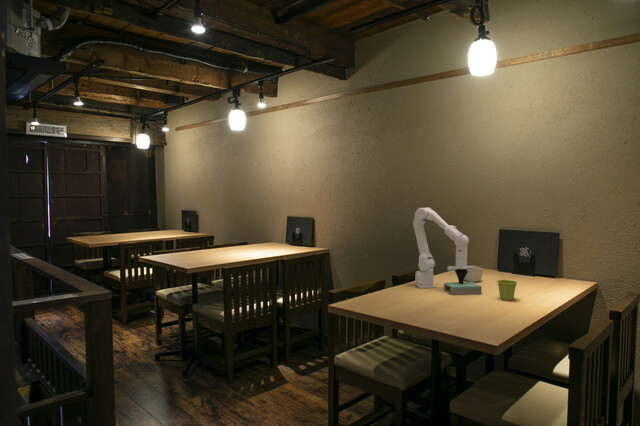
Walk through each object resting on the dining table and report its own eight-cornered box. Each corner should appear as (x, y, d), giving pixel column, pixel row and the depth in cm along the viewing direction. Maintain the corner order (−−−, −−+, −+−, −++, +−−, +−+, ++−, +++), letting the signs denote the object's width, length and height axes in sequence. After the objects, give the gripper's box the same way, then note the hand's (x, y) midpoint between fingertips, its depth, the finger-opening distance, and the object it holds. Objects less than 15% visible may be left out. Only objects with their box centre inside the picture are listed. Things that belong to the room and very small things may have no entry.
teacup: (484, 283, 246) (485, 269, 245) (465, 283, 246) (466, 269, 245) (476, 278, 260) (476, 265, 259) (458, 278, 260) (458, 265, 259)
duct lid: (451, 288, 218) (451, 286, 218) (444, 284, 228) (444, 282, 228) (481, 287, 220) (481, 285, 220) (472, 283, 230) (472, 281, 230)
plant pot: (495, 300, 209) (495, 282, 208) (497, 295, 217) (497, 278, 217) (516, 302, 204) (516, 284, 204) (517, 297, 213) (517, 280, 212)
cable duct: (451, 295, 218) (451, 288, 218) (443, 290, 228) (444, 283, 228) (481, 294, 220) (481, 287, 220) (472, 289, 230) (472, 283, 230)
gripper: (451, 259, 220) (450, 285, 221) (478, 259, 222) (477, 284, 222) (445, 257, 227) (445, 282, 228) (471, 256, 229) (471, 281, 229)
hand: (460, 283), depth 226 cm, fingers closed, pressing on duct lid
